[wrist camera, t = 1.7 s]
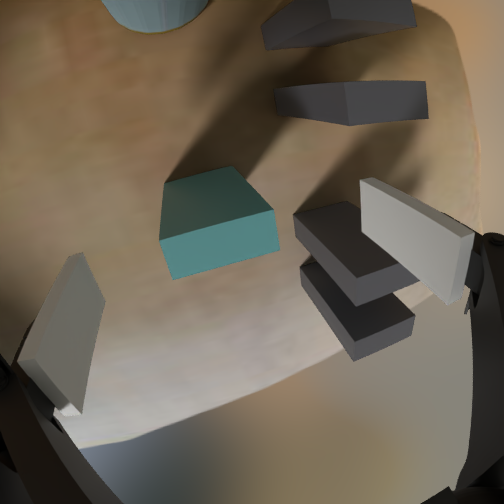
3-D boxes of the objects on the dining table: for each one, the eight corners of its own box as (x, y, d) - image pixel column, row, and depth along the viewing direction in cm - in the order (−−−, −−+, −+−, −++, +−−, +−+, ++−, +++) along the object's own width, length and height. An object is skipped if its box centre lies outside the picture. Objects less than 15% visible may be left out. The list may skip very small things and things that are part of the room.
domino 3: (338, 106, 22) (428, 118, 13) (277, 115, 21) (349, 126, 12) (334, 82, 21) (425, 81, 12) (273, 88, 20) (343, 81, 11)
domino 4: (348, 222, 27) (421, 280, 18) (295, 236, 26) (356, 306, 17) (347, 201, 26) (424, 253, 17) (292, 214, 25) (356, 278, 16)
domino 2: (328, 46, 19) (416, 26, 11) (265, 50, 19) (332, 18, 10) (323, 23, 18) (409, -8, 10) (260, 25, 18) (322, -20, 9)
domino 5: (349, 270, 29) (411, 335, 20) (301, 285, 28) (353, 361, 20) (349, 251, 28) (415, 315, 19) (299, 267, 27) (354, 342, 19)
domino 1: (237, 191, 23) (280, 250, 14) (171, 208, 22) (172, 279, 14) (231, 165, 22) (273, 209, 13) (164, 183, 21) (158, 240, 13)
